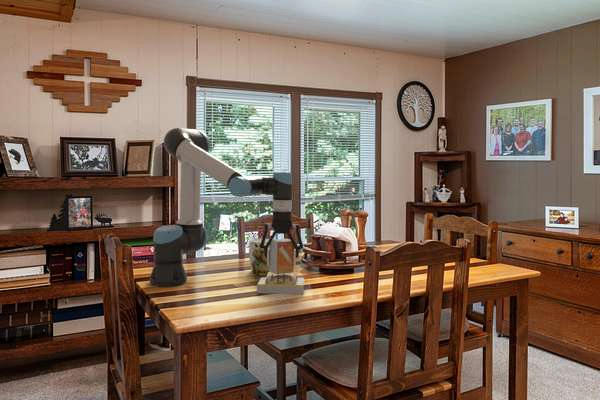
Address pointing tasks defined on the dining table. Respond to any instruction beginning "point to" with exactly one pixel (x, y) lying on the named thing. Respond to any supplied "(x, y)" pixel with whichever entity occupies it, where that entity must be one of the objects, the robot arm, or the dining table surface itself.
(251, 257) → the jar
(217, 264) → the dining table surface
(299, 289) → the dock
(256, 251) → the decorative figurine
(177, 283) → the robot arm
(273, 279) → the pallet
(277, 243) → the small box
